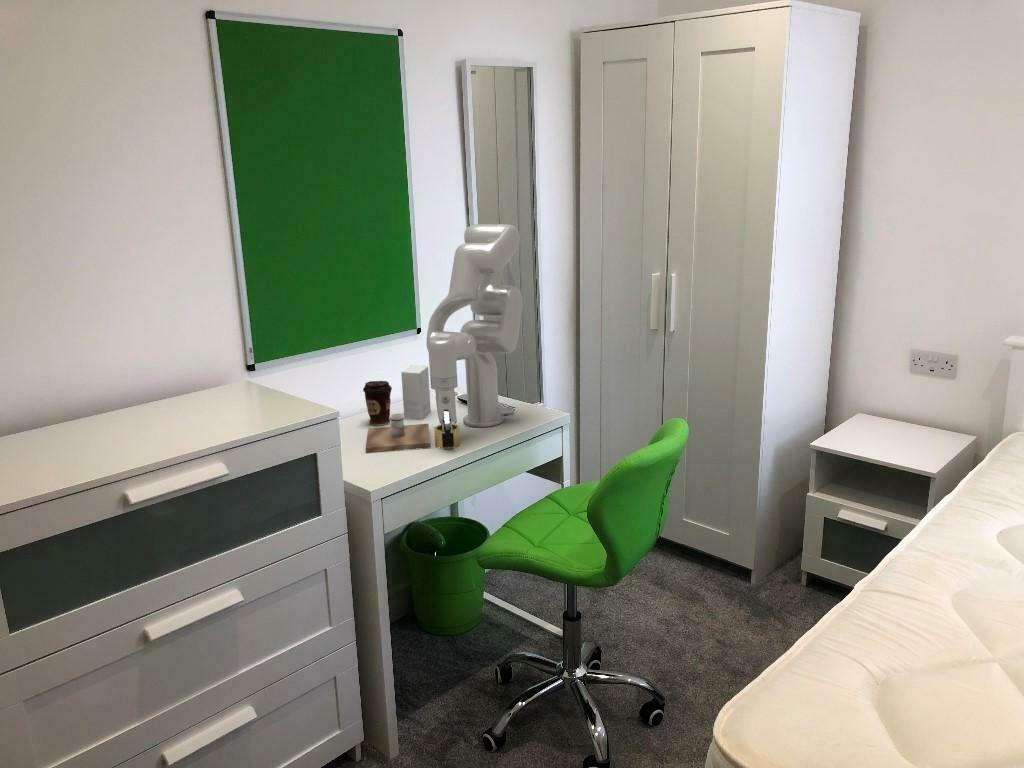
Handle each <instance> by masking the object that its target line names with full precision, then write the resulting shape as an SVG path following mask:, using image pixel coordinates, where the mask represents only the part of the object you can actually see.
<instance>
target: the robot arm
mask: <svg viewBox="0 0 1024 768" xmlns="http://www.w3.org/2000/svg"><path fill="white" fill-rule="evenodd" d="M463 235H464V236H463V239H464V243H462V244H460V245H458V246H457V248H456V249H455V252H454V257H453V261H452V262H453V263H452V268H451V269H452V270H451V275H450V281H449V282H450V283H449V289H448V293H447V295H446V297H445V298H444V299H443V300H442V301H441V302H440V303H439V304H438V305H437V307H436V308H435V309H434V311H433V313H431V316H430V319H429V322H428V328H427V333H426V341H425V342H426V350H427V352H428V368H429V383H430V389H432V390H434V391H435V403H436V404H435V405H436V412H437V417H438V422H439V425H441V424H442V431H443V433H442V446H443V447H453V446H454V437H453V432H452V424H456V423H457V421H458V420H457V407H456V404H457V403H456V394H455V393H456V391H455V389H456V388H458V372H457V371H458V368H457V366H458V365H457V362H458V361H462V360H464V366H465V382H466V385H465V386H466V399H467V401H466V402H467V414H466V415H465V416H464V417H463V418H462V420H463V424H464V425H466V426H469V427H473V428H475V427H476V428H486V427H492V426H493V427H494V426H497V425H500V424H502V423H504V421H505V415H506V416H507V415H510V416H511V415H514V414H515V409H514V407H510V408H509V406H504V407H501V406H500V404H499V392H498V391H499V390H498V389H499V388H498V366H497V362H496V359H495V357H494V356H493V355H492V354H511V353H513V352H514V351H515V350H516V348H517V345H518V341H519V335H520V327H521V321H522V314H523V313H522V312H523V306H524V305H523V296H522V291H520V289H519V288H518V287H516V286H514V285H507V284H502V279H503V269H504V267H505V266H506V265H508V262H509V261H510V260H511V259H512V257H513V256H514V254H515V253H516V251H518V248H519V245H520V242H521V235H520V232H519V229H518V228H517V227H516V226H515V225H512V224H508V223H507V224H506V223H481V224H480V223H478V224H473V225H470V226H468V227H466V228H465V230H464V233H463ZM467 306H470V307H469V308H470V310H471V312H472V313H473V314H474V315H476V316H480V317H493V318H500V320H489V319H472V320H468V321H467V322H465V323H464V324H463V325H462V326H461V329H460V331H459V332H458V331H444V330H445V325H446V323H447V321H448V319H449V318H450V317H451V316H452V315H453V314H455V312H457V311H460V310H461V309H463V308H465V307H467ZM444 425H445V426H444Z"/></svg>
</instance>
